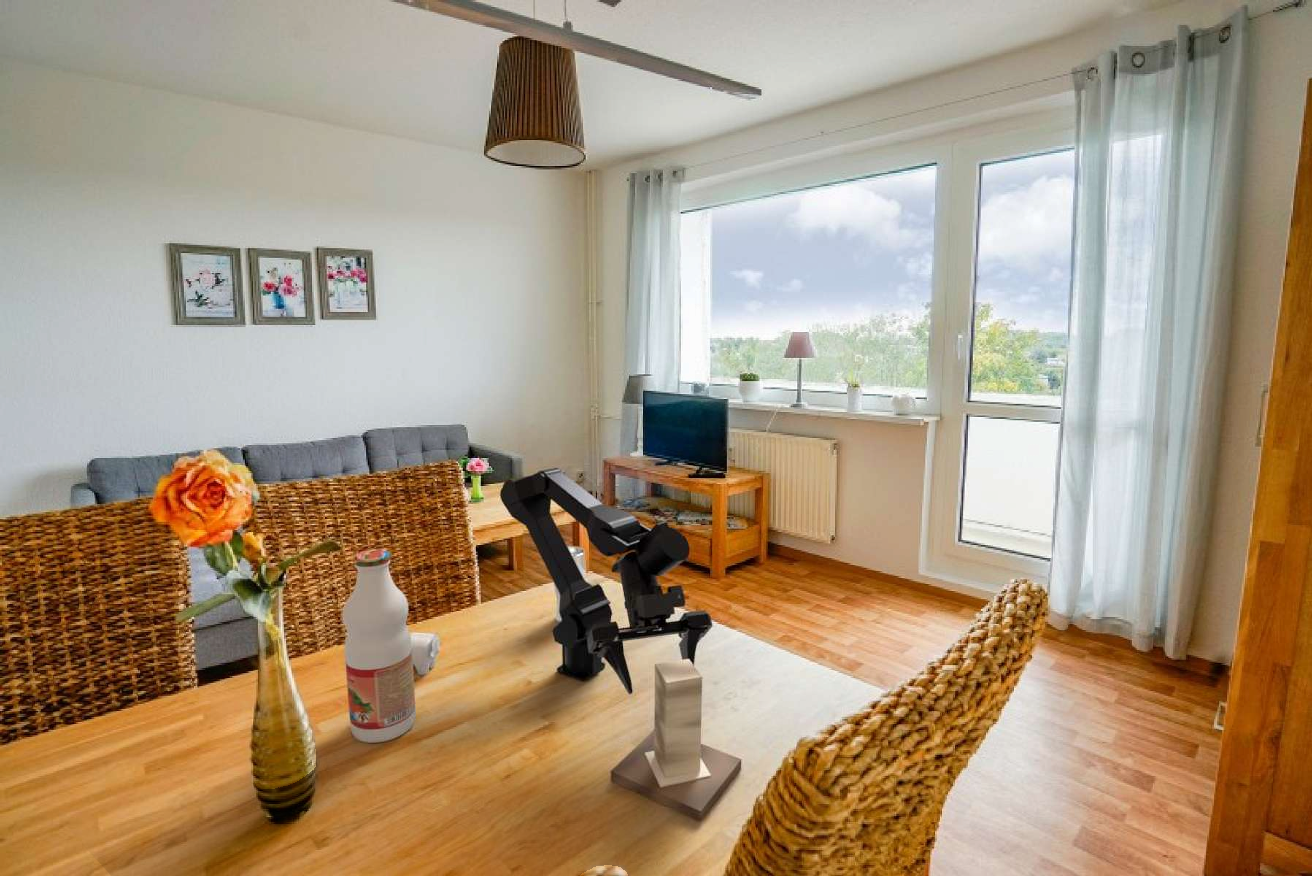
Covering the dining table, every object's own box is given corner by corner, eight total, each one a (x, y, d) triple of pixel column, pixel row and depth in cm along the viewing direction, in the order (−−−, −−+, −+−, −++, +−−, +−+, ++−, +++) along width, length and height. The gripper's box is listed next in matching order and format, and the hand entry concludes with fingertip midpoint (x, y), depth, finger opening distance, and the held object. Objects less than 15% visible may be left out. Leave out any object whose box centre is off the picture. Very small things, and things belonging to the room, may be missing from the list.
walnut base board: (610, 780, 91) (610, 769, 91) (657, 735, 101) (657, 725, 101) (700, 821, 84) (700, 809, 83) (741, 768, 94) (741, 758, 93)
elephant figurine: (453, 655, 125) (452, 620, 124) (427, 682, 116) (425, 644, 114) (416, 652, 126) (414, 616, 125) (387, 678, 117) (384, 640, 116)
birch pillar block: (654, 755, 94) (654, 664, 91) (687, 749, 95) (688, 658, 93) (665, 778, 89) (666, 682, 87) (700, 771, 91) (702, 676, 88)
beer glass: (580, 627, 137) (579, 558, 134) (548, 624, 138) (547, 555, 135) (590, 613, 143) (590, 546, 141) (560, 610, 145) (558, 544, 142)
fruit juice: (413, 739, 100) (402, 562, 95) (345, 749, 97) (330, 568, 93) (418, 704, 109) (408, 541, 104) (356, 713, 106) (343, 546, 101)
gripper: (590, 573, 96) (607, 682, 88) (709, 561, 102) (736, 662, 94) (580, 602, 105) (595, 704, 97) (690, 589, 111) (714, 684, 102)
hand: (661, 688), depth 97 cm, fingers open, 9 cm apart
